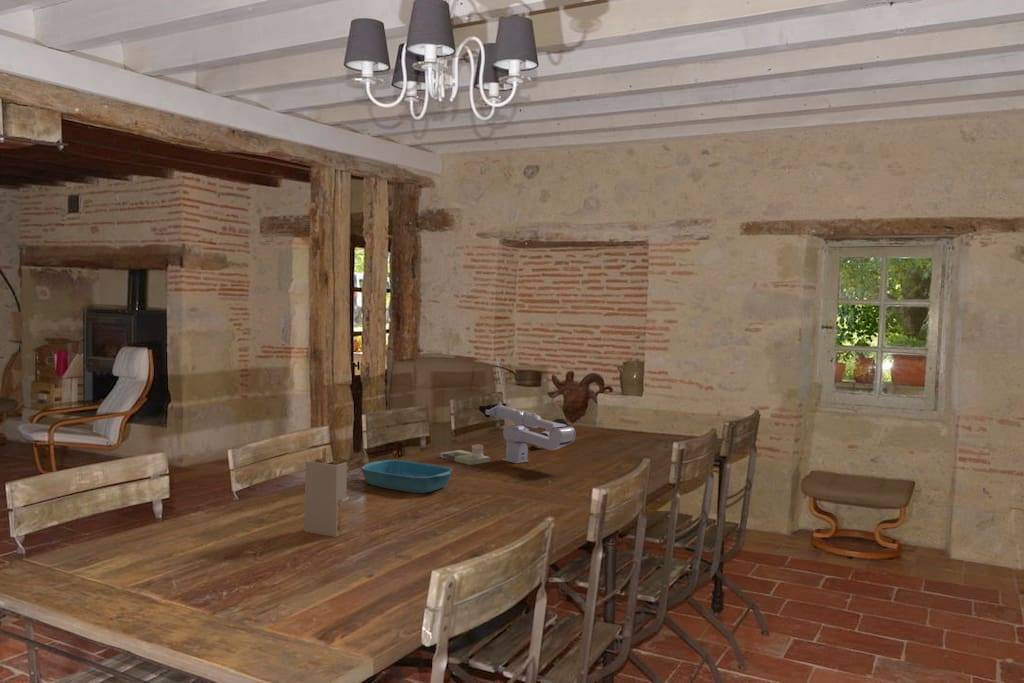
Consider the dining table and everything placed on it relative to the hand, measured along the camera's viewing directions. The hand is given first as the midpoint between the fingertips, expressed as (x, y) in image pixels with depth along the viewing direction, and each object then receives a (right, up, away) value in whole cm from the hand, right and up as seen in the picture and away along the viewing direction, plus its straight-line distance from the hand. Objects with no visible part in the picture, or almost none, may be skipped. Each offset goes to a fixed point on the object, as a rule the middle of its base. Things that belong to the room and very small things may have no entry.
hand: (485, 407), depth 372 cm
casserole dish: (-28, -25, -64) cm, 75 cm away
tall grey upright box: (-44, -28, -127) cm, 138 cm away
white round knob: (-3, -20, -16) cm, 26 cm away
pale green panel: (-9, -22, -13) cm, 27 cm away
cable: (+30, -21, +30) cm, 48 cm away
